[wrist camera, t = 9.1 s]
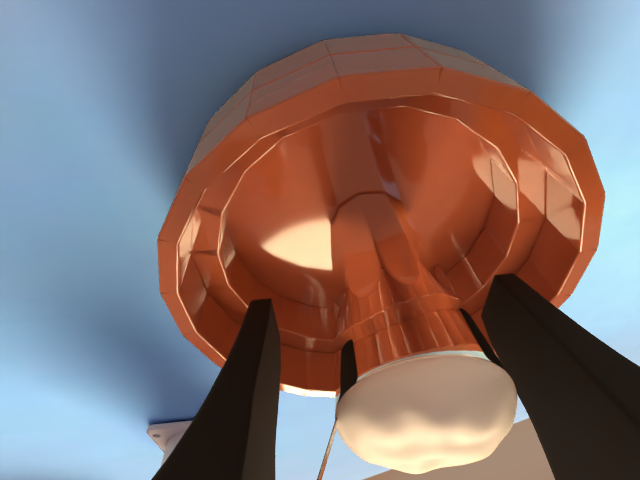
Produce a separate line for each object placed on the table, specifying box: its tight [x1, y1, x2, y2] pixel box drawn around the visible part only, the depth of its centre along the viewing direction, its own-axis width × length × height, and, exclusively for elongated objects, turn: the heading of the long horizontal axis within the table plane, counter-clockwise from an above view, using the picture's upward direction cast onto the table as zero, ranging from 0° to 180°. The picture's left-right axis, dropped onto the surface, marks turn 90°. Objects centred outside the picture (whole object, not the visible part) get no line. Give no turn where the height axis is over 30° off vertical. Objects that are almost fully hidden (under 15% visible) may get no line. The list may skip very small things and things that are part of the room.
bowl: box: [157, 33, 605, 397], centre depth 14 cm, size 14×14×4 cm
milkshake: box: [317, 193, 517, 480], centre depth 11 cm, size 4×5×10 cm
